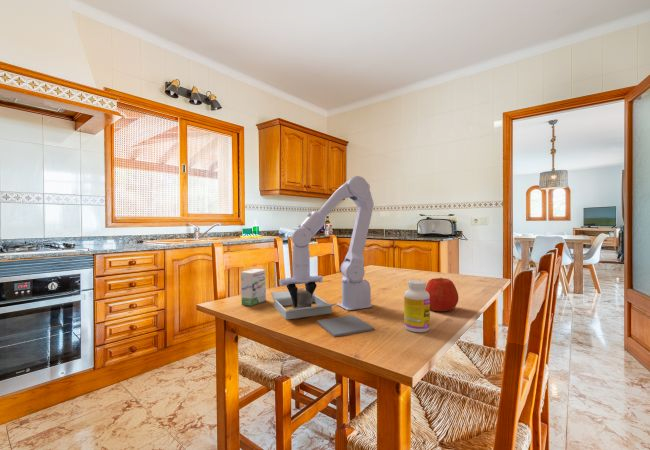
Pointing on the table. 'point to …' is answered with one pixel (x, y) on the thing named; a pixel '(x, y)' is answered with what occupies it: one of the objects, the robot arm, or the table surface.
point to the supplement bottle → (417, 307)
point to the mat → (344, 325)
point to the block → (303, 299)
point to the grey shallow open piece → (285, 299)
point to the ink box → (253, 286)
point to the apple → (442, 294)
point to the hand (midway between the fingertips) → (301, 305)
